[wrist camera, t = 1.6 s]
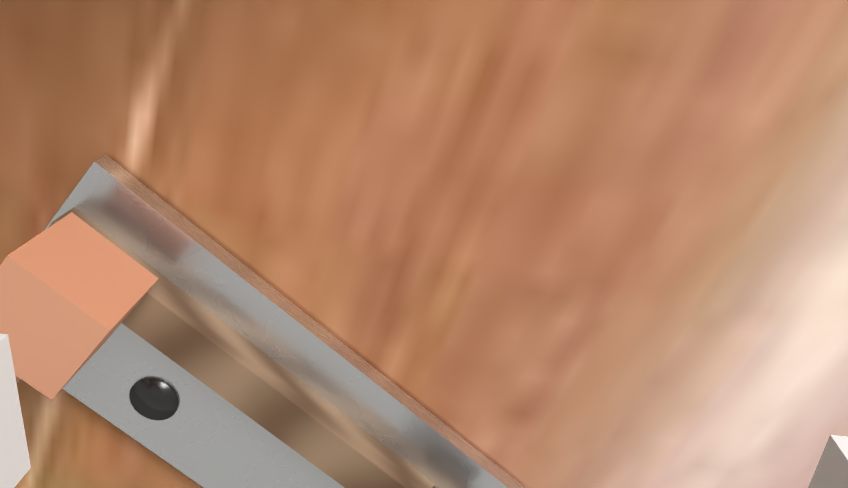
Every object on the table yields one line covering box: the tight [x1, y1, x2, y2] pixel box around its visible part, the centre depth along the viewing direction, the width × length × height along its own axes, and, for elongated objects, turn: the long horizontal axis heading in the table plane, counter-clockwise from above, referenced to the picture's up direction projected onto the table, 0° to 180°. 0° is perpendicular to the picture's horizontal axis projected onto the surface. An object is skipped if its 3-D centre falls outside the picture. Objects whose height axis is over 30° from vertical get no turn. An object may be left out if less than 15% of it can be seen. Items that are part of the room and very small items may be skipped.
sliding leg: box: [0, 212, 159, 400], centre depth 34 cm, size 5×9×7 cm, turn 138°
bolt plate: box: [45, 155, 525, 488], centre depth 41 cm, size 30×13×1 cm, turn 48°
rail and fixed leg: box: [48, 207, 440, 488], centre depth 38 cm, size 29×9×6 cm, turn 48°
